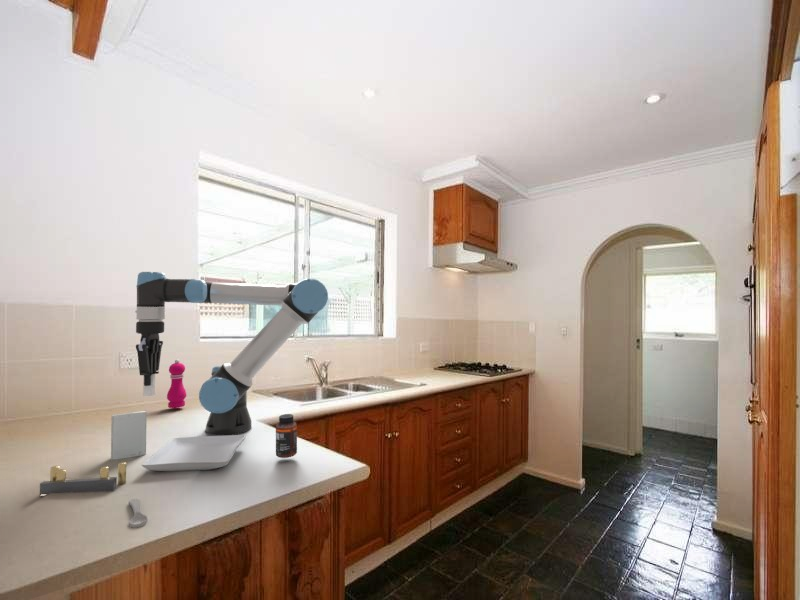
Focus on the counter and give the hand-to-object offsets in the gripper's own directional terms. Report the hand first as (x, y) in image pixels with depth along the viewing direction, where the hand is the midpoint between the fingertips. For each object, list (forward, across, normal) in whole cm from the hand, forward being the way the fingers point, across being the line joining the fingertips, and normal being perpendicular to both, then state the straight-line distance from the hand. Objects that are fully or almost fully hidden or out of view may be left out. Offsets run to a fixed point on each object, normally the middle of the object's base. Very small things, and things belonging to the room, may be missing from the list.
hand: (149, 395), depth 122 cm
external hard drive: (+15, +12, 0) cm, 19 cm away
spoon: (+15, +46, +18) cm, 52 cm away
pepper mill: (+15, -45, -9) cm, 48 cm away
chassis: (+15, +31, 0) cm, 34 cm away
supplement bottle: (+15, +17, +44) cm, 50 cm away
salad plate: (+15, +16, +20) cm, 30 cm away
